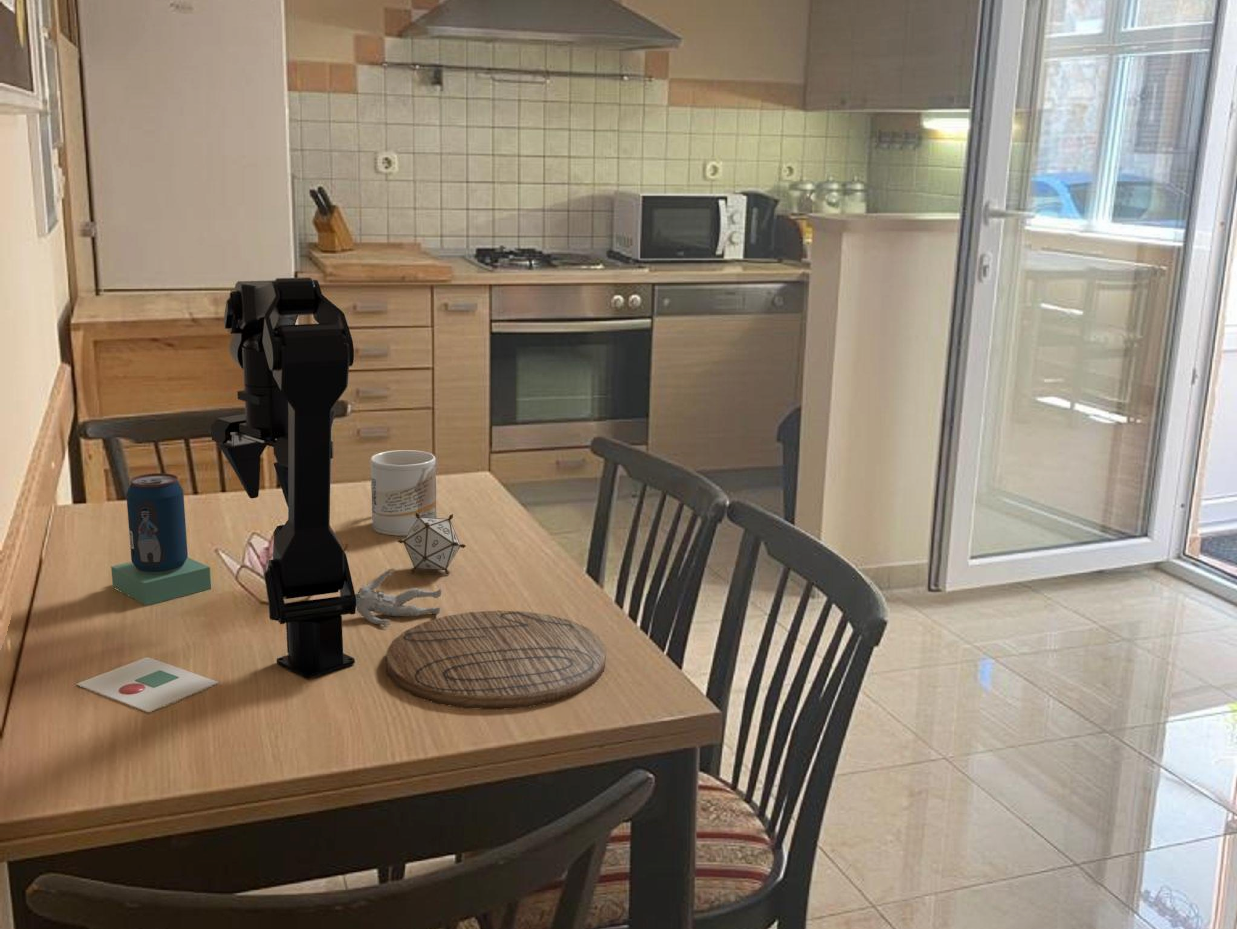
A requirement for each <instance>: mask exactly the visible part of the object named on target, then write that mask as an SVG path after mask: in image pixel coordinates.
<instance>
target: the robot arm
mask: <svg viewBox="0 0 1237 929" xmlns="http://www.w3.org/2000/svg"><path fill="white" fill-rule="evenodd" d="M223 315H224V316H223V324H224V329H227V332H228V334H230V335H232V337H231V340H230V343H229V353H230V355H231V357H232V360H233V361H234V362H235V363H236V364H237V365H238V366H239V367H240V368H241V369H242V370H243V371H242V372H243V373H242V374H243V388H244V390H237V392H236V393H237V400H238V401H239V400H240V401H242V402H244V409H245V410H244V411H245V413H243V414H242V413H241V414H237V415H231V416H223V417H216V419H215V420H214V422H213V423H212V424H211V426H210V433H211V434H210V435H211V441H213V442H215V443H217V448H218V449H219V450H220V451H221V452H222V454H223V456H224V457H225V459H226V460H227V461H228V463H229V465H230V466H231V468H232V470H233V471H234V473H235V475H236V477H237V478H238V480H239V482H240V484H241V485H242V487H243V488H244V490H245V492H246V494H247V496H248V497H249V499H256V498H258V497H259V494H260V485H261V484H260V482H261V479H260V478H261V461H262V460H261V456H262V454H263V452H264V451H265V450H266V448H267V446H268V447H271V448H273V455H274V457H275V460H276V461H277V462H276V461H275V462H273V466H274V470H275V472H276V476H277V478H278V481H279V485H280V487H281V490H282V493H283V496H284V500H285V503H286V506H287V508H288V510H287V514H288V515H287V521H286V522H285V523H284V524H282V525H277V526H276V527H275V529H274V531H273V546H272V547H273V548H272V550H273V551H272V559H269V560H268V562H267V568H266V571H265V572H264V574H263V577H264V582H265V589H266V595H267V601H268V602H267V603H268V613H269V614H268V615H269V620H270V621H276V622H277V621H278V623H279V625H285V629H286V630H285V632H286V647H287V648H286V649H287V650H286V651H287V654H286V655H284V656H280V657H277V658H276V664H277V665H279V666H281V667H283V668H285V669H286V670H289V671H291V672H293V673H295V674H297V675H299V676H301V677H303V678H305V679H313V678H316V677H319V676H322V675H325V674H328V673H331V672H333V671H336V670H340V669H342V668H345V667H347V666H348V667H349V666H351V665H354V664H355V663H356V661H355V658H354V657H352V656H350V655H348V654H346V653H345V652H344V640H343V638H344V637H343V616H344V615H345V616H346V615H356V611H357V608H356V596H355V594H356V593H355V588H354V583H353V579H352V576H351V570H350V566H349V560H348V558H347V557H348V556H347V554H346V552H345V551H344V549H343V547H342V545H341V542H340V541H339V539H338V537H337V534H336V533H335V531H334V529H333V528H332V527H331V526H330V525H331V524H330V522H331V520H330V519H331V515H330V513H331V471H332V470H331V467H332V466H331V465H332V463H331V461H332V459H333V458H334V442H333V441H332V428H333V427H332V426H333V423H334V419H335V415H336V412H337V411H336V410H334V409H333V408H334V407H335V406H336V404H337V402H338V401H339V399H340V398H341V397H342V395H343V394H344V393H345V391H346V390H347V388H348V385H349V371H350V367H353V365H354V358H355V349H354V341H353V337H352V334H351V331H350V327H349V325H348V322H347V319H346V316H345V313H344V311H342V309H340V308H339V307H338V306H337V305H335V304H334V303H333V302H332V301H331V300H329V299H328V298H327V297H326V296H324V295H323V293H322V289H321V286H320V283H319V280H317V279H312V278H311V277H310V276H309V277H278V278H277V277H276V279H275V280H274V279H273V280H243V281H241V280H239V281H237V282H235V285H234V290H231V291H230V292H229V297H228V299H227V300H226V303H225V308H224V314H223ZM309 315H312V316H313V319H314V320H315V321H316V322H317V323H308V324H307V323H306V324H302V323H301V324H297V320H298V318H299V316H309ZM335 593H336V594H337V593H339V594H340V595H339V596H331V597H324V598H317V599H309V600H302V601H295V602H286V603H285V600H289V599H298V598H306V597H312V596H321V595H327V594H328V595H329V594H335Z"/></svg>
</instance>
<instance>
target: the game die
mask: <svg viewBox="0 0 1237 929" xmlns="http://www.w3.org/2000/svg"><path fill="white" fill-rule="evenodd" d="M415 516H416V517H417V518H418V519H417V520H416V522H415V524H414V525H413V527H412V528H411V530H410V531H409V533H408V534H407V535H406V536H405V538H404V539H401V538H400V539H398V540H397V542H398V543H399V544H403V545H404V547H405V550H406V552H407V555H408V557H409V559H410V561H411V563H412V566H413V567H412V569H410V570H411V572H410V573H411V574H413V573H416V571H417V570H416V569H419V570H437V571H444V573H445V575H447V576H449V575H450V571H449V570H448V568H449V567H450V564H451V563H452V561H453V560H454V558H455V556H456V554H457V553H458V551H459V550H460V548H462V549H464V548H466V547H467V545H465V543H460V540H459V538H458V536H457V533H456V530H455V528H454V526H453V524H452V521H451V520H452V519H453V518H454V513H451V514H449V516H448V518H438V517H436V518H423V517H420V515H419V514H418V513H417V512H416V515H415Z"/></svg>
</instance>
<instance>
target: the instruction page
mask: <svg viewBox="0 0 1237 929" xmlns="http://www.w3.org/2000/svg"><path fill="white" fill-rule="evenodd" d="M216 684H217V685H220V684H219V681H217V680H214V679H211V678H208V677H205V676H203V675H200V674H197V673H194V672H191V671H188V670H185V669H182V668H179V667H177V666H175V665H171V664H168V663H166V662H163V661H160V660H158V659H157V660H156V659H155V658H152V657H149V656H145V657H143V658H141V659H139V660H138V659H137V660H135V661H133V662H131V663H128V664H125V665H122V666H120V667H117V668H115V669H112V670H110V671H107V672H104V673H101V674H99V675H96V676H94V677H91V678H88V679H86V680H82V681H80V682H78V683H76V686H77V685H78V686H77V687H79V686H80V688H82V687H83V689H85V688H86V689H85V690H87V691H90V692H92V691H93V692H92V693H96V694H97V693H99V694H98V695H101V696H103V697H105V696H106V697H105V698H108V699H110V698H111V700H113V699H114V700H113V701H115V700H117V701H116V702H118V701H120V702H119V703H121V702H123V703H125V704H124V705H126V704H128V705H131V706H132V707H131V706H130V707H131V708H133V707H135V708H134V709H136V708H139V709H140V710H139V709H138V710H139V711H141V710H144V711H147V712H151V711H153V710H156V709H158V708H160V707H163V706H164V705H167V704H170V703H172V702H174V701H177V700H179V701H181V700H180V699H182V700H184V699H186V698H185V697H187V696H189V697H191V696H193V695H192V694H194V693H196V694H198V693H200V692H199V691H201V692H203V691H205V690H207V689H206V688H208V687H210V688H212V687H214V686H213V685H215V686H217V685H216ZM204 689H205V690H204ZM208 689H209V688H208ZM202 690H203V691H202ZM197 692H198V693H197ZM190 695H191V696H190ZM194 695H195V694H194ZM183 698H184V699H183ZM187 698H188V697H187ZM177 702H178V701H177ZM123 703H122V704H123ZM172 704H173V703H172ZM128 705H127V706H128ZM170 705H171V704H170ZM163 708H164V707H163ZM158 710H159V709H158ZM144 711H143V712H144ZM156 711H157V710H156ZM151 713H152V712H151Z"/></svg>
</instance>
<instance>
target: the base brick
mask: <svg viewBox="0 0 1237 929" xmlns="http://www.w3.org/2000/svg"><path fill="white" fill-rule="evenodd" d="M111 580H112V589H114V588H116V589H118V590H119V591H121V592H123V593H124V594H123V593H122V594H123V595H125V594H127V595H129V596H130V597H129V596H128V597H129V598H131V597H132V598H131V599H133V598H134V599H133V600H135V601H137V600H138V601H137V602H139V601H140V602H139V603H140V604H143V605H145V606H146V605H147V606H151V605H154V604H158V603H161V602H166V601H169V600H173V599H177V598H180V597H184V596H189V595H193V594H196V593H197V594H198V593H200V592H204V591H207V590H208V591H209V590H210V589H212V582H211V580H212V579H211V567H210V566H208V565H206V564H204V563H201V562H199V561H197V560H195V559H192V558H190V557H187V559H186V561H185V563H184V565H183V566H182V568H181V569H179V570H177V571H174V572H170V573H165V574H145V573H141V572H139V571H138V569H137V568H136V567H135V566H134V564H133V563H132V561H130V562H125V563H121V564H117V565H112V566H111ZM116 589H115V590H116ZM119 591H118V592H119ZM121 592H120V593H121ZM127 595H126V596H127Z"/></svg>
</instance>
